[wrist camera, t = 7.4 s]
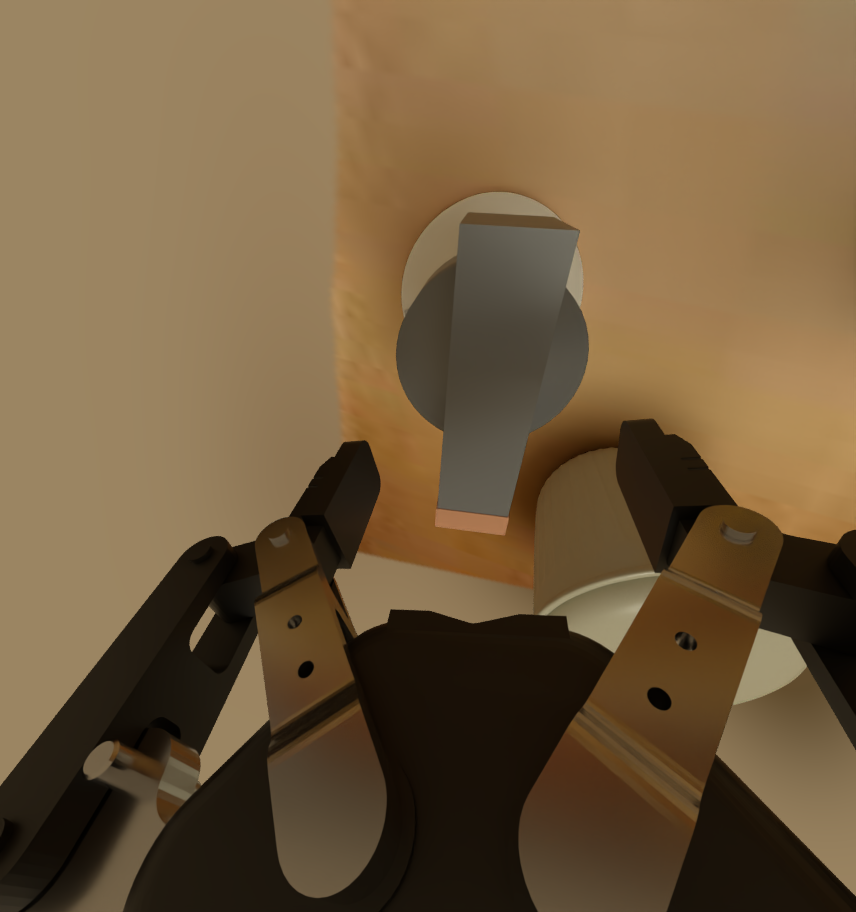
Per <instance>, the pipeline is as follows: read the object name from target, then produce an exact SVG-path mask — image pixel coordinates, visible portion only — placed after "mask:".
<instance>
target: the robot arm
mask: <svg viewBox="0 0 856 912" xmlns="http://www.w3.org/2000/svg"><path fill="white" fill-rule="evenodd" d="M616 477H617V482H618V485H619V487H620V489H621V492H622V494H623V497H624V499H625V502H626V504H627V506H628V509H629V511H630V514H631V516H632V519H633V521H634V524H635V526H636V528H637V531H638V533H639V536H640V538H641V541H642V543H643V545H644V548H645V550H646V553H647V555H648V558H649V560H650V562H651V565H652V567H653V570H654V572H655V573H661V574H660V576H659V577H658V579H657V581H656V582H655V584H654V586H653V588H652V589H651V591H650V593H649V594H648V596H647V598H646V600H645V601H644V603H643V605H642V607H641V608H640V610H639V612H638V613H637V615H636V617H635V619H634V620H633V622H632V624H631V626H630V627H629V629H628V631H627V632H626V634H625V636H624V638H623V639H622V641H621V643H620V645H619V646H618V648H617V650H616V651H615V653H613V652H612V651H610V650H609V649H607V648H606V647H605V646H603V645H601V644H600V643H598V642H596V641H594V640H592V639H590V638H588V637H586V636H583V635H581V634H579V633H575V632H572V631H569V629H568V622H567V616H553V615H526V614H518V615H514V616H509V617H504V618H500V619H495V620H490V621H485V622H480V623H474V624H473V623H468V622H465V621H461V620H458V619H455V618H451V617H448V616H445V615H442V614H439V613H435V612H432V611H418V610H392V609H391V610H390V614H389V618H388V622H387V623H385V624H382V625H379V626H376V627H373V628H371V629H369V630H367V631H365V632H363V633H362V634H360V635H359V636H358V635H357V633H356V631H355V628H354V626H353V624H352V621H351V618H350V616H349V613H348V611H347V608H346V606H345V603H344V601H343V598H342V595H341V593H340V590H339V588H338V585H337V582H336V580H335V578H334V574H335V572H336V570H337V569H339V568H340V569H342V568H343V569H350V568H351V566H352V564H353V561H354V559H355V556H356V553H357V551H358V548H359V545H360V543H361V540H362V537H363V535H364V532H365V529H366V527H367V524H368V522H369V519H370V516H371V514H372V511H373V508H374V506H375V503H376V500H377V498H378V495H379V492H380V476H379V472H378V469H377V467H376V464H375V461H374V458H373V455H372V452H371V449H370V446H369V444H368V442H367V441H365V440H364V441H351V442H344V443H343V444H342V445H341V447H340V449H339V450H338V452H337V454H336V456H335V457H331V458H330V459H328V460H327V461H326V462H325V463H324V464H323V465H321V466H320V467H319V469H318V471H317V472H316V474H315V476H314V479H312V480H311V482H310V484H309V486H308V488H306V490H305V492H304V493H303V495H302V496H301V498H300V500H299V501H298V503H297V504H296V506H295V508H294V509H293V511H292V512H291V514H290V516H289V517H285V518H281V519H279V520H276V521H274V522H273V523H271V524H269V525H268V526H267V527H265V528H264V529H263V530H262V531H261V532H260V534H259V535H258V537H257V539H256V541H253V542H250V543H245V544H242V545H238V546H235V547H232V546H231V545H230V544H229V542H228V541H227V540H226V539H225V538H224V537H221V536H214V537H209V538H206V539H204V540H202V541H199V542H198V543H196V544H194V545H193V546H191V547H190V548H189V549H188V550H187V551H185V552H184V553H183V555H182V556H181V557H180V558H179V559H178V561H177V562H176V563H175V565H174V566H173V567H172V568H171V570H170V571H169V572H168V573H167V575H166V576H165V577H164V579H163V580H162V581H161V582H160V584H159V585H158V586H157V587H156V589H155V590H154V591H153V592H152V594H151V595H150V596H149V598H148V599H147V600H146V601H145V603H144V604H143V605H142V606H141V608H140V609H139V610H138V612H137V613H136V614H135V616H134V617H133V618H132V619H131V620H130V622H129V623H128V624H127V626H126V627H125V628H124V630H123V631H122V632H121V633H120V634H119V636H118V637H117V638H116V640H115V641H114V642H113V643H112V645H111V646H110V647H109V649H108V650H107V651H106V652H105V654H104V655H103V656H102V657H101V659H100V660H99V661H98V662H97V664H96V665H95V666H94V668H93V669H92V670H91V672H90V673H89V674H88V675H87V676H86V678H85V679H84V680H83V682H82V683H81V684H80V685H79V687H78V688H77V689H76V690H75V692H74V693H73V695H72V696H71V697H70V698H69V699H68V701H67V702H66V703H65V704H64V706H63V707H62V708H61V710H60V711H59V712H58V713H57V715H56V716H55V717H54V718H53V720H52V721H51V722H50V724H49V725H48V726H47V727H46V729H45V730H44V731H43V733H42V734H41V735H40V736H39V738H38V739H37V740H36V741H35V743H34V744H33V745H32V746H31V748H30V749H29V750H28V752H27V753H26V754H25V756H24V757H23V758H22V759H21V761H20V762H19V763H18V764H17V766H16V767H15V768H14V770H13V771H12V772H11V773H10V774H9V776H8V777H7V778H6V780H5V781H4V782H3V783H2V785H1V786H0V912H856V896H855V895H854V894H853V893H852V892H851V891H850V890H849V889H848V888H847V887H846V886H845V885H844V884H843V883H842V882H841V881H840V880H839V879H838V878H837V877H836V876H835V875H834V874H833V873H832V872H831V871H830V870H829V869H828V868H827V867H826V866H825V865H824V864H823V863H822V862H821V861H820V860H819V859H818V858H817V857H816V856H815V855H814V854H813V853H812V851H810V849H808V848H807V846H806V845H805V844H804V843H803V842H802V841H801V840H800V839H799V838H798V837H797V836H796V835H795V834H794V833H793V832H792V831H791V830H790V829H789V828H788V827H787V826H786V825H785V824H784V823H783V822H782V821H781V820H780V819H779V818H778V817H777V816H776V815H775V814H774V813H773V812H772V811H771V810H770V809H769V808H768V807H767V806H766V805H765V804H764V803H763V802H762V801H761V800H760V799H759V798H758V796H757V795H756V794H755V793H754V792H752V790H751V789H749V787H748V786H747V785H746V784H745V783H744V782H743V781H742V780H741V779H740V778H739V777H738V776H737V775H736V774H735V773H734V772H733V771H732V770H731V769H730V768H729V767H728V766H727V765H726V764H725V763H724V762H723V761H722V760H721V759H720V758H719V757H718V756H717V755H716V752H717V748H718V746H719V743H720V740H721V737H722V734H723V731H724V728H725V725H726V723H727V720H728V717H729V714H730V711H731V708H732V705H733V702H734V699H735V696H736V693H737V690H738V687H739V684H740V682H741V679H742V676H743V673H744V670H745V667H746V664H747V661H748V658H749V655H750V652H751V649H752V646H753V644H754V641H755V638H756V635H757V632H758V629H763V630H766V631H770V632H773V633H777V634H780V635H784V636H787V637H791V639H792V641H793V643H794V644H795V646H796V648H797V649H798V651H799V653H800V655H801V656H802V658H803V660H804V662H805V663H806V665H807V667H808V668H809V670H810V672H811V674H812V675H813V677H814V679H815V680H816V682H817V684H818V686H819V687H820V689H821V691H822V693H823V694H824V696H825V698H826V700H827V701H828V703H829V705H830V706H831V708H832V710H833V712H834V713H835V715H836V716H837V718H838V720H839V722H840V724H841V725H842V727H843V729H844V731H845V732H846V734H847V736H848V737H849V739H850V741H851V743H852V744H853V746H854V748H855V750H856V530H852V531H849V532H847V533H845V534H844V535H843V536H842V537H841V539H840V540H839V542H838V543H837V544H832V543H827V542H822V541H816V540H811V539H806V538H800V537H795V536H790V535H786V534H783V533H781V531H780V530H779V528H778V527H777V526H776V525H775V524H774V523H773V522H772V521H770V520H769V519H768V518H766V517H764V516H763V515H761V514H759V513H757V512H755V511H752V510H749V509H746V508H743V507H738V506H737V504H736V503H735V502H734V500H733V499H732V498H731V496H730V495H729V494H728V492H727V491H726V490H725V488H724V487H723V486H722V484H721V483H720V482H719V480H718V479H717V478H716V476H715V475H714V474H713V472H712V471H711V470H709V469H708V466H707V464H706V463H705V462H704V460H703V459H701V456H700V455H699V454H698V453H697V451H696V450H695V449H694V447H693V446H692V445H691V444H690V443H688V442H687V441H685V440H683V439H682V438H680V437H678V436H677V435H675V434H673V435H664V433H663V432H662V430H661V429H660V427H659V426H658V424H657V423H656V421H655V420H654V419H642V420H629V421H623V423H622V425H621V429H620V436H619V443H618V451H617V458H616ZM208 606H209V607H210V608H211V609H212V610H213V611H214V612H215V615H214V617H213V618H212V620H211V622H210V623H209V625H208V627H207V628H206V630H205V632H204V633H203V635H202V637H201V638H200V640H199V642H198V644H197V645H196V647H195V648H194V650H193V652H191V650H190V646H189V642H190V637H191V634H192V632H193V630H194V628H195V627H196V625H197V624H198V622H199V620H200V619H201V617H202V616H203V614H204V612H205V611H206V609H207V608H208ZM257 634H258V636H259V644H260V651H261V659H262V666H263V675H264V682H265V690H266V697H267V705H268V712H269V720H268V721H267V722H266V723H265V724H264V725H263V726H262V727H261V728H260V729H259V730H258V731H257V732H256V733H255V734H254V735H253V736H252V737H251V738H250V739H249V740H248V741H247V742H246V743H245V744H244V745H243V746H242V747H241V748H240V749H239V750H237V751H236V752H235V753H234V755H232V756H231V757H230V758H229V759H228V760H227V761H226V762H225V763H224V764H223V765H222V766H221V767H220V768H219V769H218V770H217V771H216V772H215V773H214V774H213V775H212V776H211V777H210V778H209V779H208V780H207V781H206V782H205V783H204V784H203V785H202V786H201V784H200V782H199V781H198V778H199V773H200V757H199V756H200V754H201V752H202V750H203V748H204V746H205V744H206V741H207V739H208V737H209V735H210V733H211V731H212V729H213V727H214V725H215V723H216V720H217V718H218V716H219V714H220V712H221V710H222V708H223V706H224V704H225V701H226V699H227V697H228V695H229V693H230V691H231V689H232V687H233V685H234V682H235V680H236V678H237V676H238V674H239V672H240V670H241V668H242V666H243V664H244V661H245V659H246V657H247V655H248V653H249V651H250V649H251V647H252V644H253V643H254V640H255V638H256V636H257Z"/></svg>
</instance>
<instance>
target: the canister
mask: <svg viewBox="0 0 856 912" xmlns="http://www.w3.org/2000/svg"><path fill="white" fill-rule="evenodd" d="M617 451H618V448H613V447H610V448H607V449H598V450H595V451H588V452H587V453H585V454H581V455H578V456H577V457H575V458H573V459H569V460H568V461H567V462H566V463H565V464H562V465H560V467H559V468H558V469H557V470H555V471H554V472H553V473H552V475H551V476H550V477H549V478H548V479H547V480H546V482H545V485H544V486H543V487H542V489H541V491H540V495H539V497H538V501H537V509H536V519H535V540H534V594H533V595H534V596H533V597H534V598H533V602H534V603H533V604H534V605H533V613H534V615H553V616H567V622H568V629H569V631H572V632H575V633H579V634H581V635H583V636H586V637H588V638H590V639H592V640H594V641H596V642H598V643H600V644H601V645H603V646H605V647H606V648H607V649H609V650H610V651H612V652H613V653H615V651H616V650H617V648H618V646H619V645H620V643H621V641H622V639H623V638H624V636H625V634H626V632H627V631H628V629H629V627H630V626H631V624H632V622H633V620H634V619H635V617H636V615H637V613H638V612H639V610H640V608H641V607H642V605H643V603H644V601H645V600H646V598H647V596H648V594H649V593H650V591H651V589H652V588H653V586H654V584H655V582H656V581H657V579H658V577H659V576H660V574H661V573H655V572H654V570H653V567H652V565H651V562H650V560H649V558H648V555H647V553H646V550H645V548H644V545H643V543H642V541H641V538H640V536H639V533H638V531H637V528H636V526H635V524H634V521H633V519H632V516H631V514H630V511H629V509H628V506H627V504H626V502H625V499H624V497H623V494H622V492H621V489H620V487H619V485H618V482H617V477H616V458H617ZM806 667H807V665H806V663H805V662H804V660H803V658H802V656H801V655H800V653H799V651H798V649H797V648H796V646H795V644H794V643H793V641H792V639H791V637H787V636H784V635H780V634H777V633H773V632H770V631H766V630H763V629H758V632H757V635H756V638H755V641H754V644H753V646H752V649H751V652H750V655H749V658H748V661H747V664H746V667H745V670H744V673H743V676H742V679H741V682H740V684H739V687H738V690H737V693H736V696H735V699H734V702H733V705H735V704H739V703H743V702H747V701H750V700H753V699H756V698H759V697H762V696H764V695H766V694H769V693H771V692H773V691H775V690H778V689H780V688H781V687H783V686H785V685H786V684H788V683H790V682H791V681H793V680H794V679H795V678H796V677H797V676H799V675H800V673H802V672H803V670H804V669H805V668H806Z"/></svg>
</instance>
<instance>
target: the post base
mask: <svg viewBox="0 0 856 912" xmlns="http://www.w3.org/2000/svg"><path fill="white" fill-rule="evenodd" d="M468 212H476V213H494V214H512V215H530V216H548V217H555V218H557V219H559V220H560V218H559V217H558V216H557V215H556V214H555V213H553V212H552V211H551V210H550V209H548V208H547V207H546V206H544V205H543V204H541V203H539V202H537V201H535V200H534V199H531V198H528V197H525V196H523V195H520V194H515V193H510V192H487V193H480V194H477V195H474V196H471V197H467V198H465V199H463V200H461V201H459V202H457V203H455V204H453V205H452V206H450V207H449V208H447V209H446V210H444V211H443V212H442V213H440V214H439V215H438V216H437V217H436V218H435V219H434V220H433V221H432V222H431V223H430V224H429V225H428V226H427V227H426V228H425V230H424V231H423V232H422V234H421V235H420V237H419V238H418V240H417V241H416V243H415V245H414V247H413V249H412V251H411V253H410V255H409V258H408V260H407V263H406V266H405V270H404V275H403V280H402V291H401V296H402V309H403V315H404V318H405V315H406V313H407V311H408V309H409V308H410V306H411V305H412V303H413V302H414V300H415V298H416V297H417V295H418V294H419V292H420V291H421V289H422V288H423V286H424V285H425V283H426V282H427V280H428V279H429V278H430V277H431V275H432V274H433V273H434V272H435V271H436V270H437V269H438V268H439V267H441V266H442V265H443V264H444V263H445V262H447V261H448V260H450V259H451V258H453V257H454V256H456V255H457V251H458V238H459V225H460V222H461V221H462V220H463V218H464V217H465V216H466V214H467V213H468ZM566 288H567V289H568V290H569V292H570V293H571V295H572V296H573V297H574V299H575V300H576V302H577V304H578V306H579V308H580V305H581V301H582V294H583V268H582V261H581V257H580V254H579V250H578V247H577V245H576V249H575V253H574V257H573V261H572V265H571V268H570V272H569V276H568V280H567V284H566Z"/></svg>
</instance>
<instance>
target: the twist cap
mask: <svg viewBox="0 0 856 912" xmlns="http://www.w3.org/2000/svg"><path fill="white" fill-rule="evenodd" d="M579 233H580V230H578V229H576V228H574V227H572V226H570V225H568V224H566V223H564V222H563V221H561V220H559V219H557V218H555V217H548V216H530V215H512V214H494V213H476V212H468V213H467V214H466V216H465V217H464V218H463V220H462V221H461V222H460V225H459V238H458V251H457V255H456V256H454V257H453V258H451V259H450V260H448V261H447V262H445V263H444V264H443V265H442V266H441V267H439V268H438V269H437V270H436V271H435V272H434V273H433V274H432V275H431V277H430V278H429V279H428V280H427V282H426V283H425V285H424V286H423V288H422V289H421V291H420V292H419V294H418V295H417V297H416V298H415V300H414V302H413V303H412V305H411V306H410V308H409V309H408V311H407V313H406V315H405V318H404V320H403V322H402V325H401V328H400V331H399V335H398V340H397V348H396V361H397V370H398V374H399V379H400V381H401V384H402V387H403V390H404V391H405V393H406V395H407V397H408V399H409V400H410V402H411V403H412V405H413V406H414V408H415V409H416V410H417V411H418V412H419V413H420V414H421V415H422V416H423V417H424V418H425V419H426V420H427V421H428V422H430V423H431V424H433V425H434V426H435V427H437V428H439V429H440V430H442V431H444V432H443V445H442V458H441V471H440V484H439V496H438V502H437V508H436V521H435V526H436V527H443V528H451V529H459V530H466V531H474V532H482V533H490V534H497V535H505V532H506V528H507V524H508V520H509V511H510V507H511V503H512V499H513V495H514V491H515V487H516V483H517V479H518V475H519V471H520V467H521V463H522V459H523V455H524V451H525V447H526V443H527V439H528V435H529V433H530V432H532V431H534V430H536V429H538V428H540V427H542V426H543V425H545V424H546V423H548V422H549V421H551V420H552V419H553V418H554V417H555V416H556V415H558V414H559V413H560V412H561V411H562V410H563V408H564V407H565V406H566V405H567V404H568V403H569V401H570V400H571V399H572V397H573V396H574V394H575V393H576V391H577V389H578V387H579V385H580V383H581V381H582V378H583V376H584V373H585V369H586V365H587V361H588V351H589V342H588V332H587V327H586V322H585V320H584V317H583V314H582V311H581V309H580V308H579V306H578V304H577V302H576V300H575V299H574V297H573V296H572V295H571V293H570V292H569V290H568V289H567V288H566V284H567V280H568V276H569V272H570V268H571V265H572V261H573V257H574V253H575V249H576V245H577V241H578V237H579Z"/></svg>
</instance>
